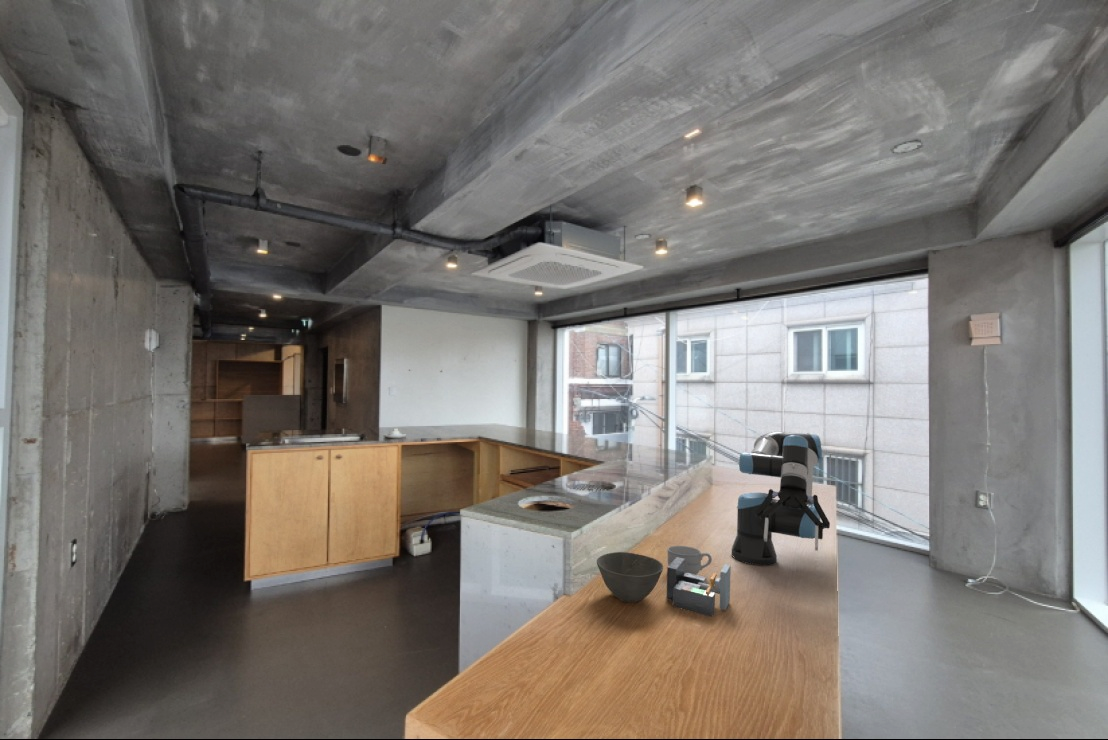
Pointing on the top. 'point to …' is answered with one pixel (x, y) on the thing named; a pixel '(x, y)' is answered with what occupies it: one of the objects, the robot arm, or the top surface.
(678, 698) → the top surface
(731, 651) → the top surface
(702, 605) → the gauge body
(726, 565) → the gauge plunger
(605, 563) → the bowl
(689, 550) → the teacup
